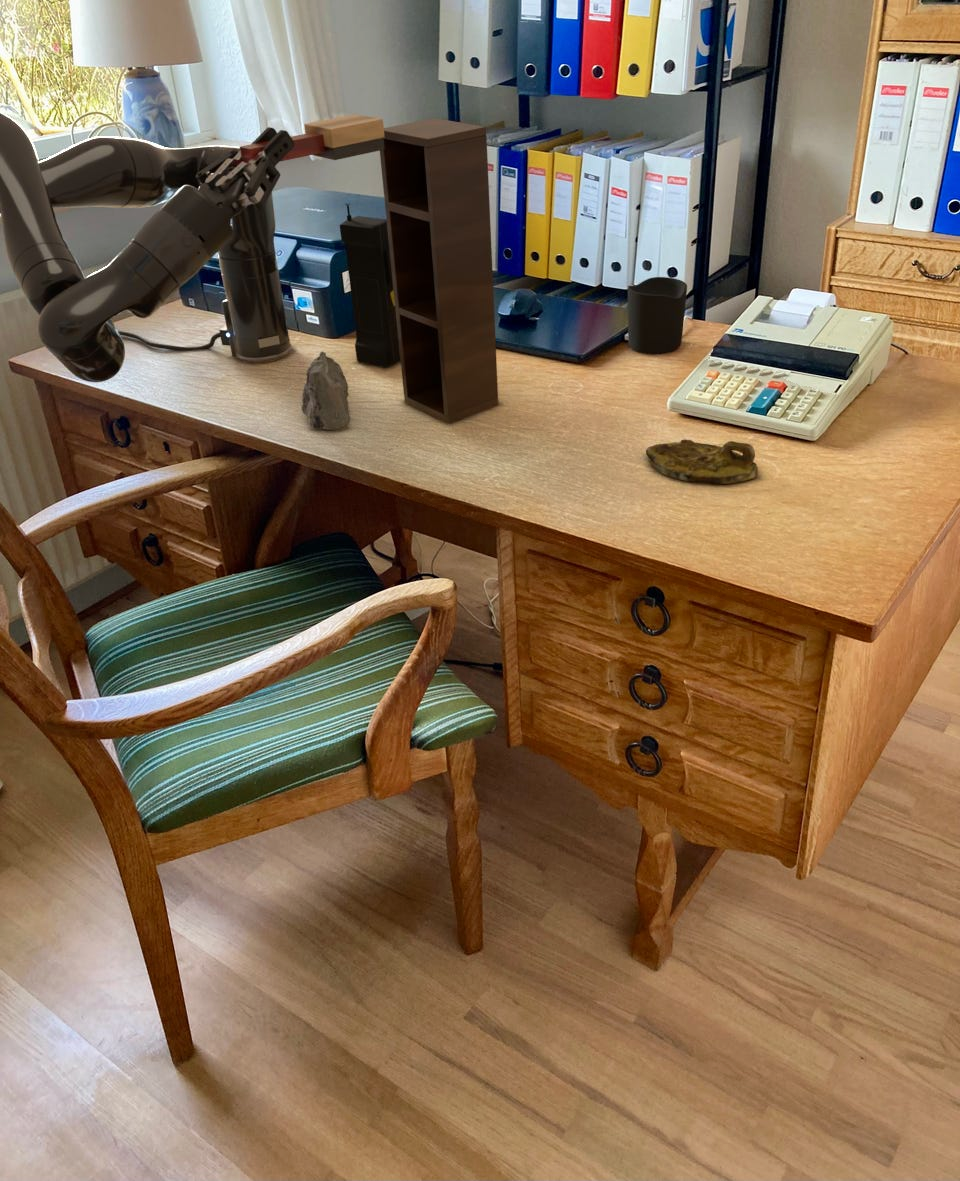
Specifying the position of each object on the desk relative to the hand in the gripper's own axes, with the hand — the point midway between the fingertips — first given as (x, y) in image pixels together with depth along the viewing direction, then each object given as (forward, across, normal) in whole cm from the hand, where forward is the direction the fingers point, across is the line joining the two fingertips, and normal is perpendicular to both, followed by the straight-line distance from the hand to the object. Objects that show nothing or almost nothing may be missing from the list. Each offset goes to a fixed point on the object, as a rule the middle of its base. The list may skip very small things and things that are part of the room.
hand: (282, 135), depth 121 cm
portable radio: (+1, -22, -48) cm, 53 cm away
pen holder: (+31, +6, -66) cm, 73 cm away
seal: (+7, +40, -52) cm, 66 cm away
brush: (+2, 0, -5) cm, 5 cm away
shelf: (-2, 0, -46) cm, 47 cm away
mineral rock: (-14, -10, -40) cm, 43 cm away
